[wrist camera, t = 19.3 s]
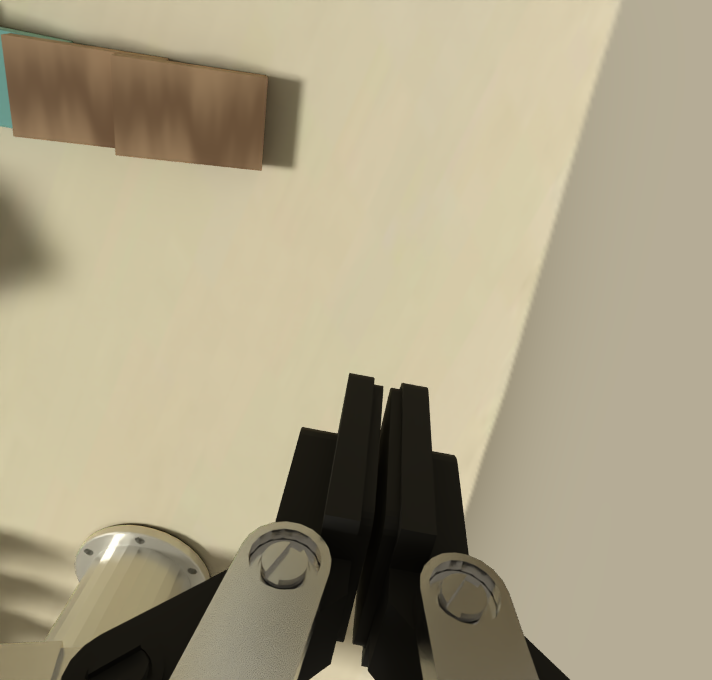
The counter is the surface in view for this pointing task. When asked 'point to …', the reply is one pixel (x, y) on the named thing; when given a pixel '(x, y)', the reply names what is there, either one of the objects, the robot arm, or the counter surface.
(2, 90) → the tile
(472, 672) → the robot arm
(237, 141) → the brown flat rectangular block
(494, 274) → the counter surface
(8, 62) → the tile
